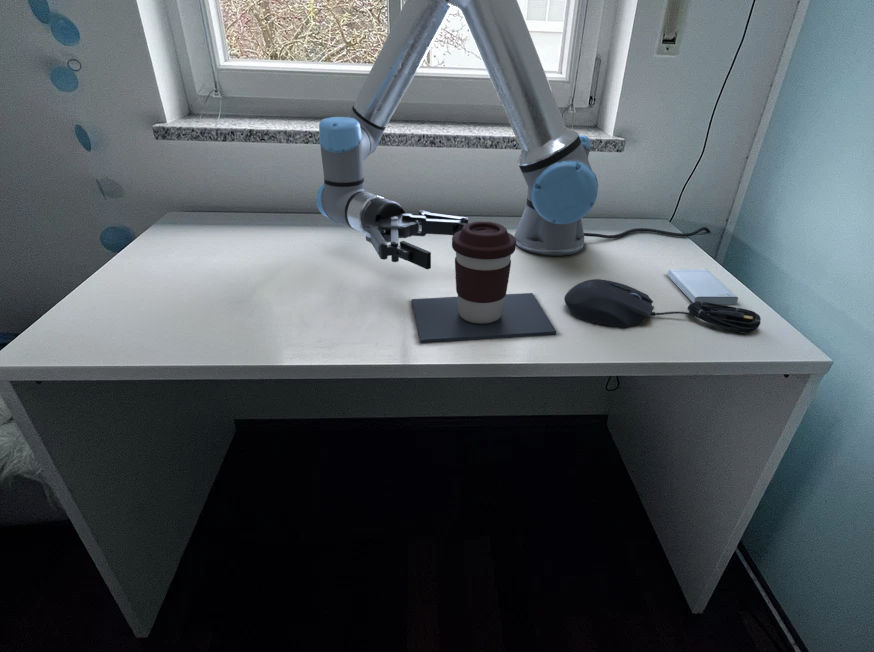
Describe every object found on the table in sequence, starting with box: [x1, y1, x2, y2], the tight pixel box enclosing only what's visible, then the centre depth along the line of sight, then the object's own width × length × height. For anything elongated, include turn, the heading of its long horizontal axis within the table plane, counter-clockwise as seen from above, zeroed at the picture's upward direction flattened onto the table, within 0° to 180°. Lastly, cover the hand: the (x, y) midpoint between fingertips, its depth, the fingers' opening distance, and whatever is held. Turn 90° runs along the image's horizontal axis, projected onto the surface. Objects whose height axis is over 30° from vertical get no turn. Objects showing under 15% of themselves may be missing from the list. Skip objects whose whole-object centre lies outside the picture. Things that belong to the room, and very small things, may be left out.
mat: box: [411, 292, 557, 344], centre depth 92 cm, size 22×14×1 cm, turn 100°
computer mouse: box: [563, 278, 761, 334], centre depth 92 cm, size 10×32×6 cm, turn 83°
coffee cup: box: [451, 220, 517, 324], centre depth 88 cm, size 10×10×15 cm
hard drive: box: [666, 268, 739, 305], centre depth 104 cm, size 2×8×12 cm
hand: (459, 250), depth 90 cm, fingers open, 13 cm apart
